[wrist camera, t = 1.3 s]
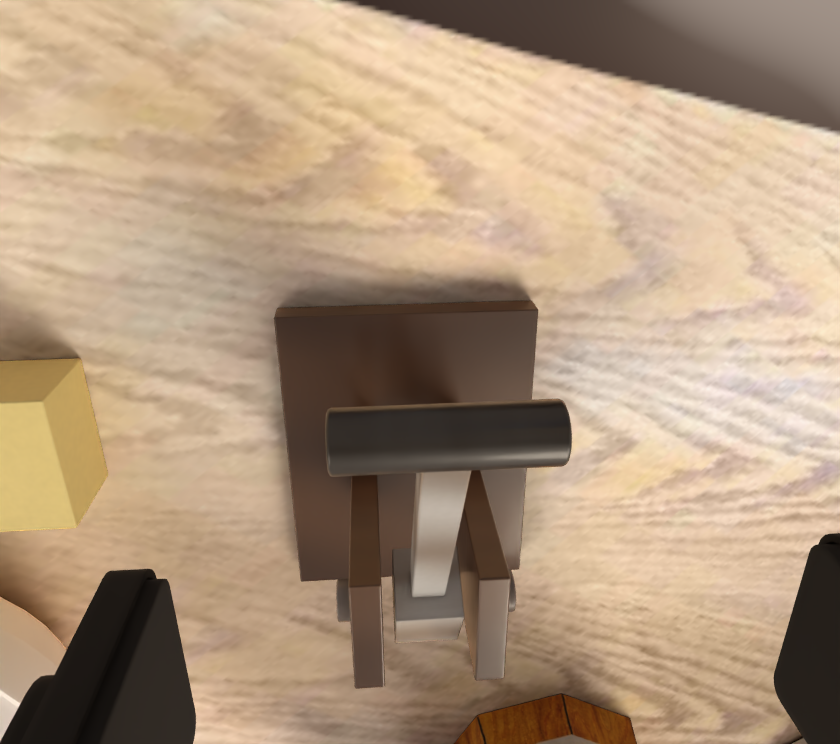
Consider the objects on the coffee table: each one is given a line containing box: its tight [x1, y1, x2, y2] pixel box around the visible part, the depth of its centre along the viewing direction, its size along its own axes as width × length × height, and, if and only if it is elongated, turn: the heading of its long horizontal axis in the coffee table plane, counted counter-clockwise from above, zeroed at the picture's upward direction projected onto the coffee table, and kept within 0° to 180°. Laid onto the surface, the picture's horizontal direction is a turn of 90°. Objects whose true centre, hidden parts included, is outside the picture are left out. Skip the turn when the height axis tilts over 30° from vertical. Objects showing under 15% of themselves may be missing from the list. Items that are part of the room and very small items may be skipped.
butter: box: [0, 358, 108, 532], centre depth 29 cm, size 6×4×4 cm, turn 0°
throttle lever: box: [325, 399, 572, 643], centre depth 19 cm, size 13×5×2 cm, turn 0°
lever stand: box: [274, 301, 538, 689], centre depth 27 cm, size 14×11×12 cm
